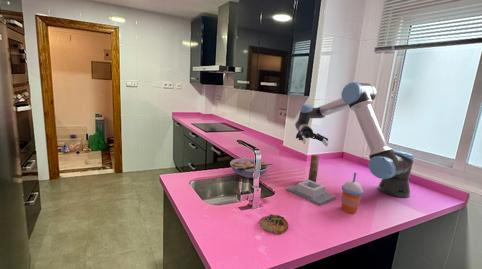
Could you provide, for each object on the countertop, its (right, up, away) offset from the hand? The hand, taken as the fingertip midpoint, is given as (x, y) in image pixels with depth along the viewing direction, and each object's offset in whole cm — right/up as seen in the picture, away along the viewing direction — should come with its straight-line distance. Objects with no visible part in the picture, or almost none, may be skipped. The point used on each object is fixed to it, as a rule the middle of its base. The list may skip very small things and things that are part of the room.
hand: (316, 143), depth 148 cm
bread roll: (-32, -31, -51) cm, 67 cm away
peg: (-3, -23, -3) cm, 23 cm away
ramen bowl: (-40, -20, +1) cm, 44 cm away
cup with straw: (+5, -30, -33) cm, 45 cm away
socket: (-9, -26, -19) cm, 33 cm away
